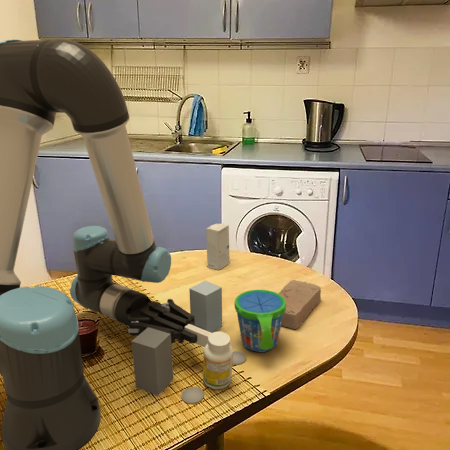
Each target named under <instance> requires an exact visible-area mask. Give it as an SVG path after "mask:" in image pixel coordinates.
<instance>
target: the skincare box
mask: <svg viewBox="0 0 450 450" xmlns="http://www.w3.org/2000/svg"><path fill="white" fill-rule="evenodd" d="M229 227H230V225H229V224H227V223H226V224H225V223H220V222H217V223H214V224H212V225H209V226H208V227H206V229H205V230H206V231H205V233H206V236H205V238H206V239H205V240H206V262H207V263H206V266H207V268H209V269H212V270H217V271H220V270H222V269H223V268H224V267H227V266H228V265H229V264H230V231H229V230H230V228H229Z"/></svg>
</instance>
